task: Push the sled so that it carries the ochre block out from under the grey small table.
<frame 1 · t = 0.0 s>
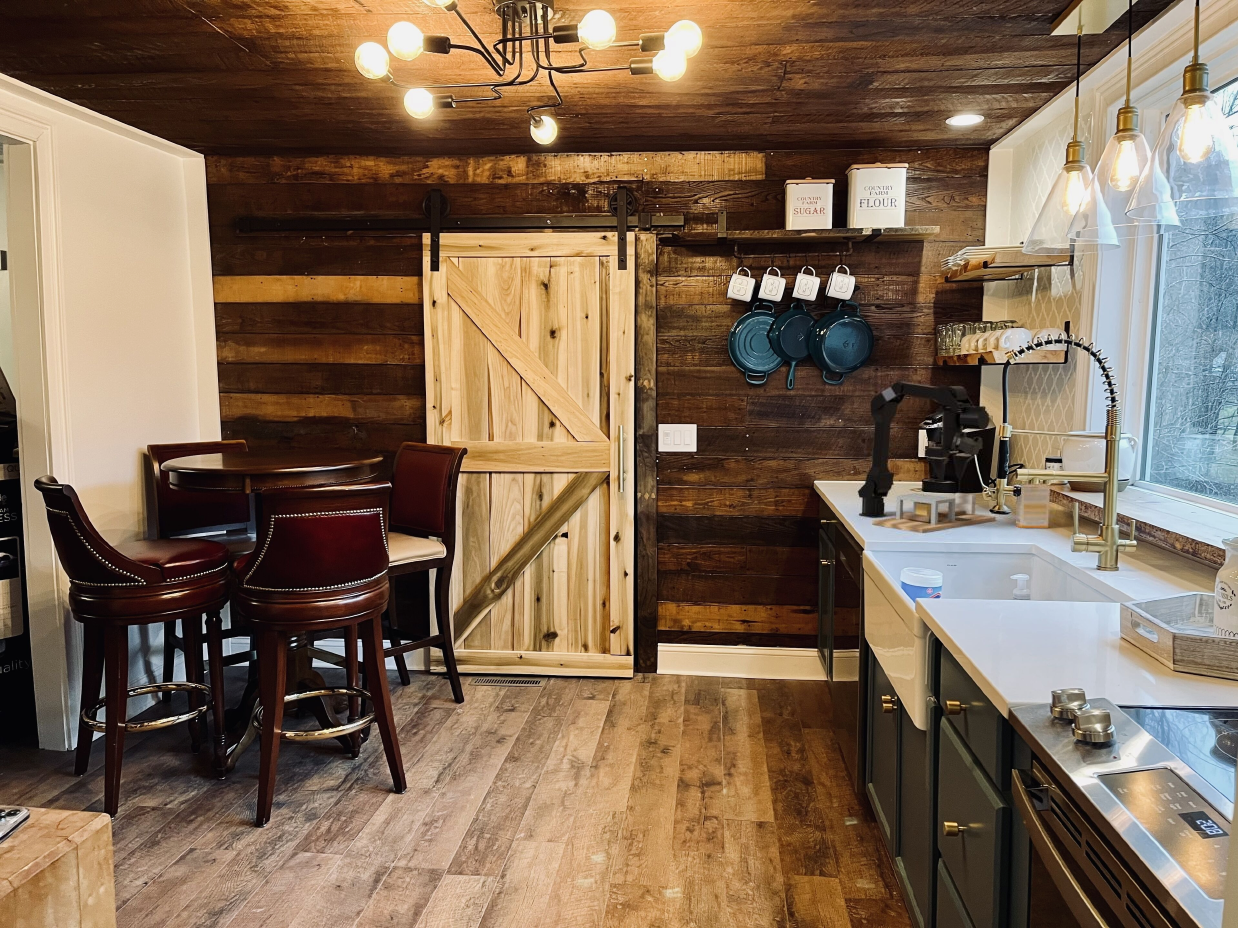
hand: (950, 479, 261), 15 cm above the table, fingers open, 9 cm apart
ochre block: (925, 516, 269), point 2 cm above the table, touching sled
supplement box: (1031, 527, 264), on the table
base board: (934, 522, 272), on the table
sled: (942, 506, 274), point 5 cm above the table, slide at 0.0 cm, touching ochre block
grey small table: (924, 524, 270), resting on base board
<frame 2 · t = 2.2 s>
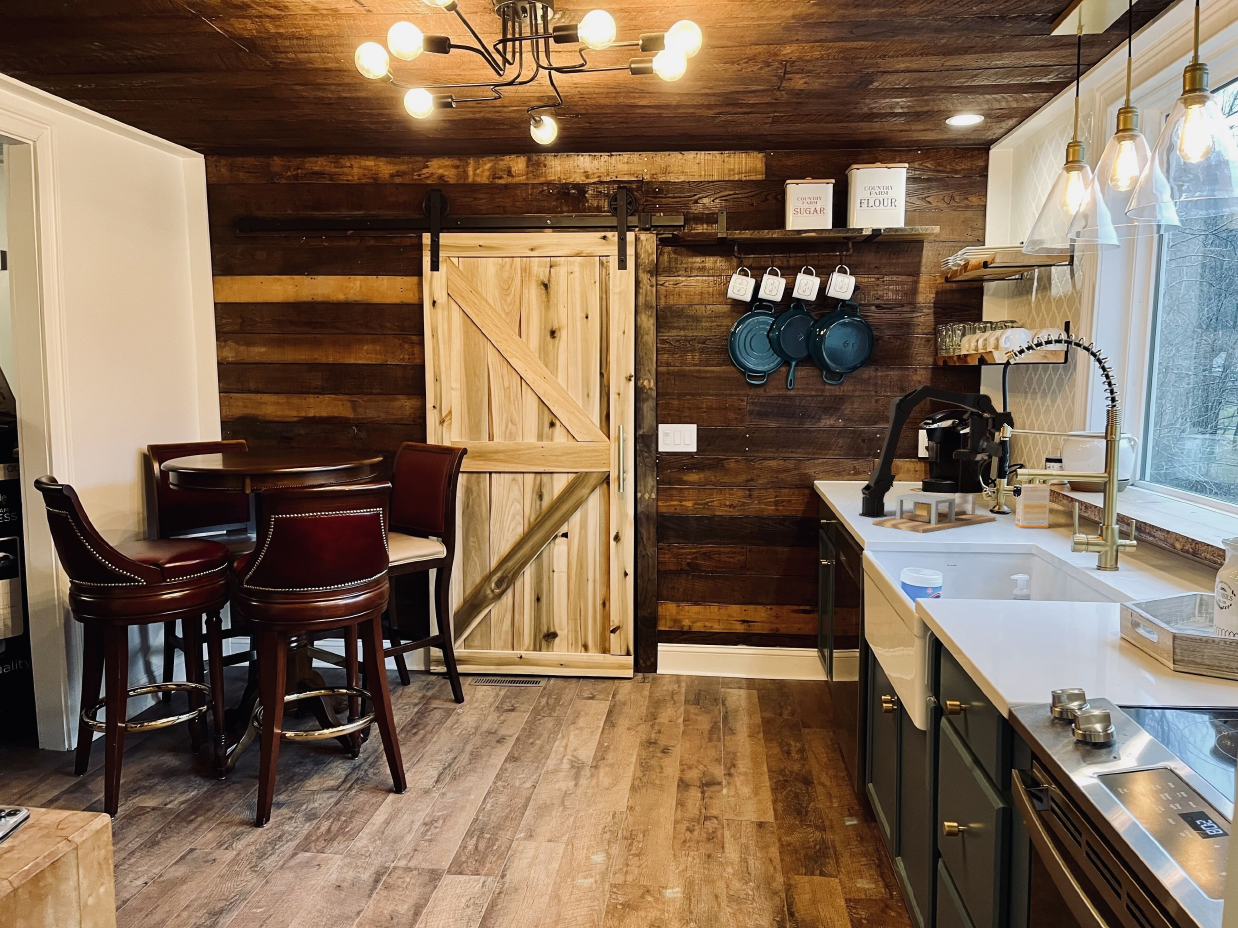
hand: (976, 480, 284), 12 cm above the table, fingers closed
nothing on the table moved.
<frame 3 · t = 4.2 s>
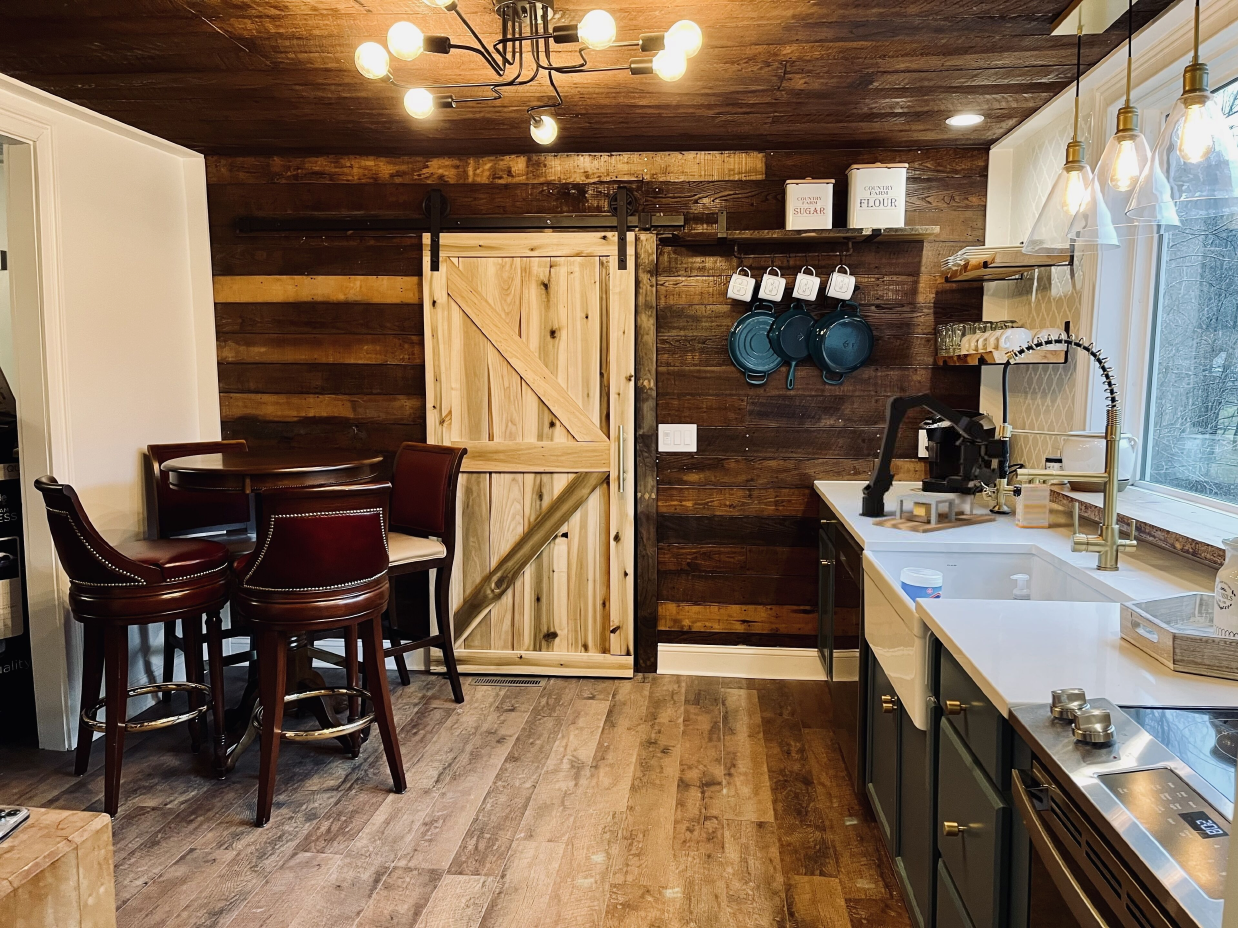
hand: (969, 506, 283), 3 cm above the table, fingers closed
ochre block: (923, 516, 269), point 2 cm above the table, touching sled
sled: (940, 507, 273), point 5 cm above the table, slide at 1.0 cm, touching gripper, ochre block
everything else where it was.
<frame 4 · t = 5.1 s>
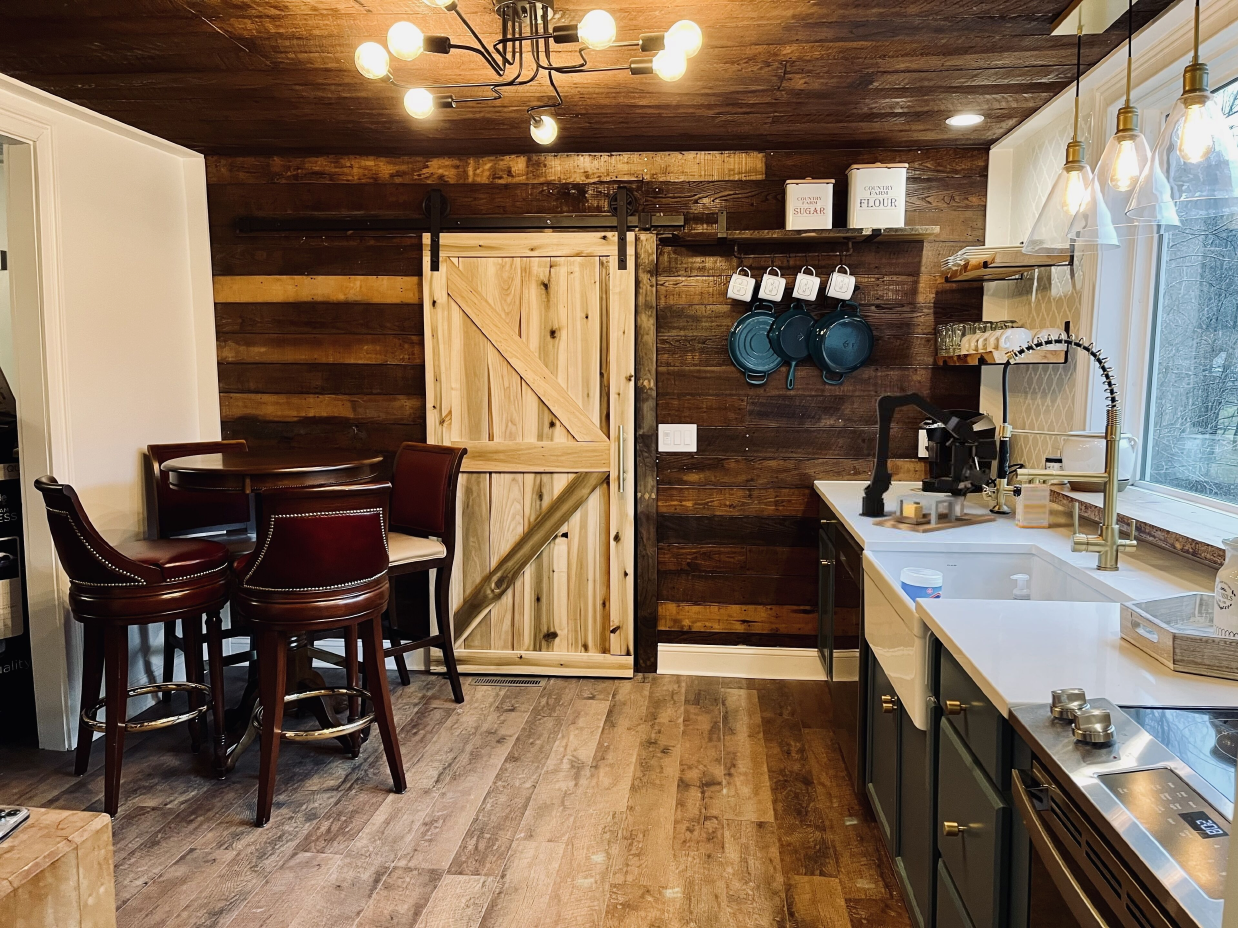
hand: (959, 508, 280), 3 cm above the table, fingers closed
ochre block: (912, 518, 266), point 2 cm above the table, touching sled
sled: (930, 508, 270), point 5 cm above the table, slide at 6.2 cm, touching gripper, ochre block
everything else where it was.
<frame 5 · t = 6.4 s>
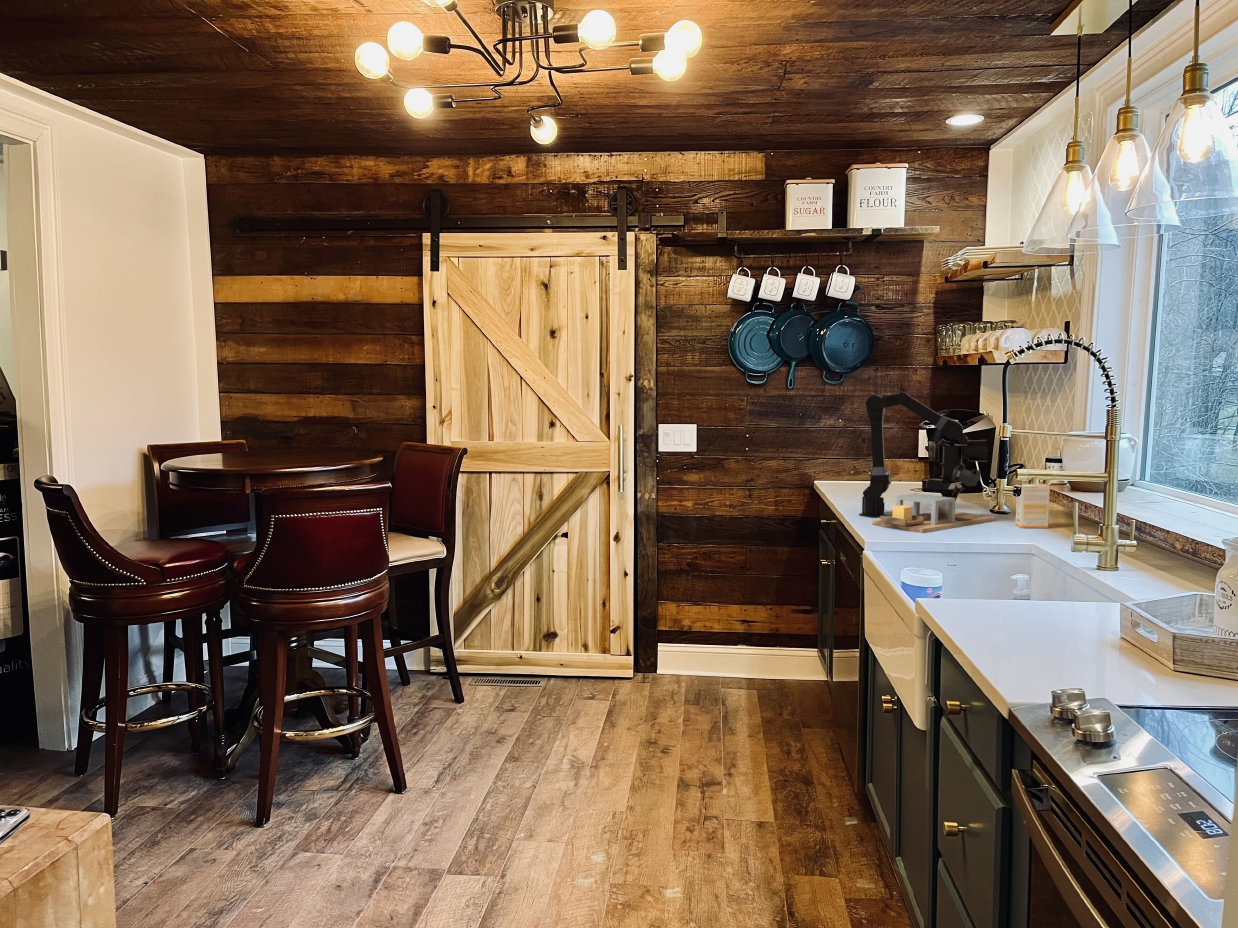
hand: (950, 509, 277), 3 cm above the table, fingers closed
ochre block: (902, 519, 263), point 2 cm above the table, touching sled
sled: (920, 509, 268), point 5 cm above the table, slide at 11.3 cm, touching gripper, ochre block
everything else where it was.
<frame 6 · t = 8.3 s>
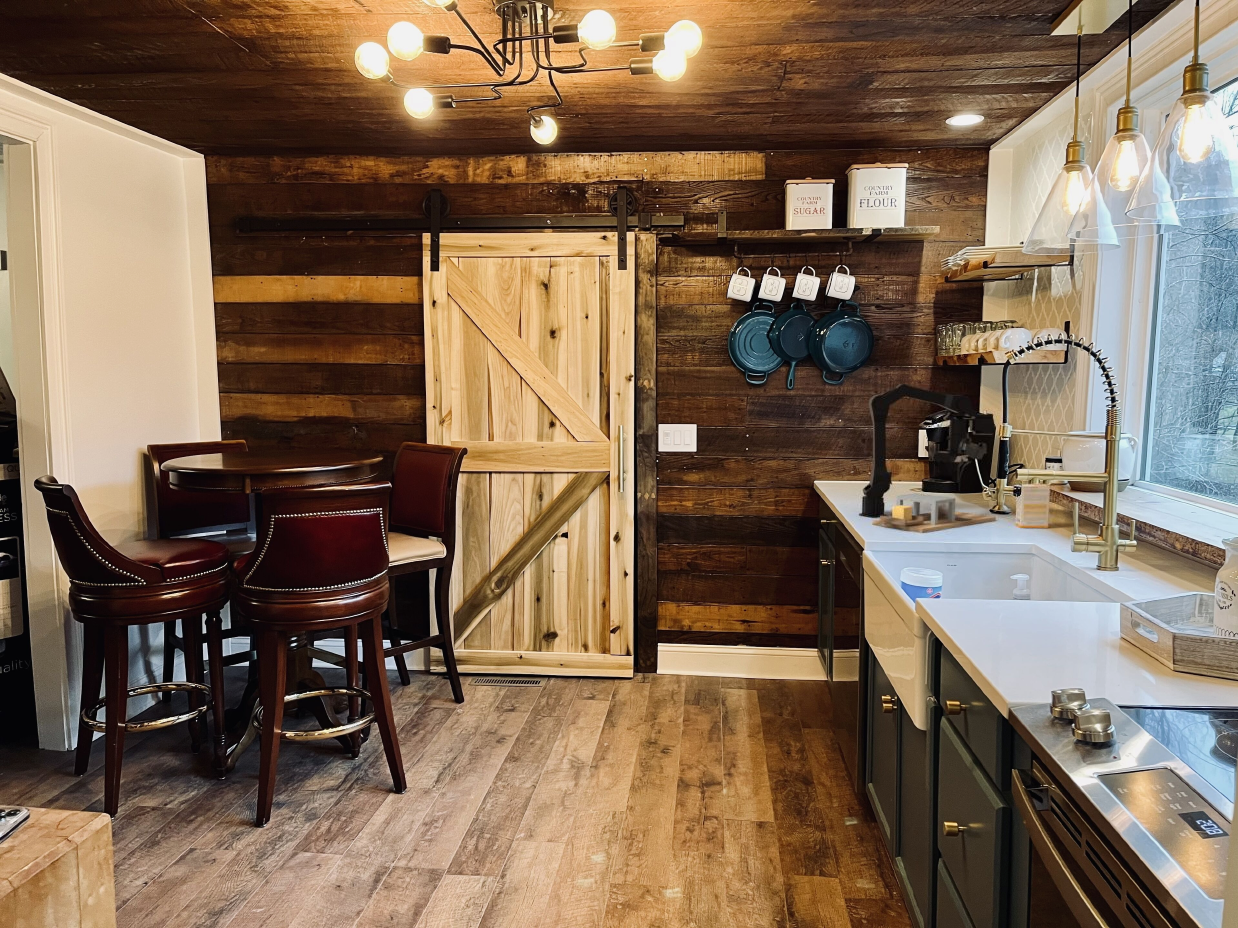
hand: (956, 482, 281), 12 cm above the table, fingers closed
sled: (920, 509, 268), point 5 cm above the table, slide at 11.4 cm, touching ochre block
everything else where it was.
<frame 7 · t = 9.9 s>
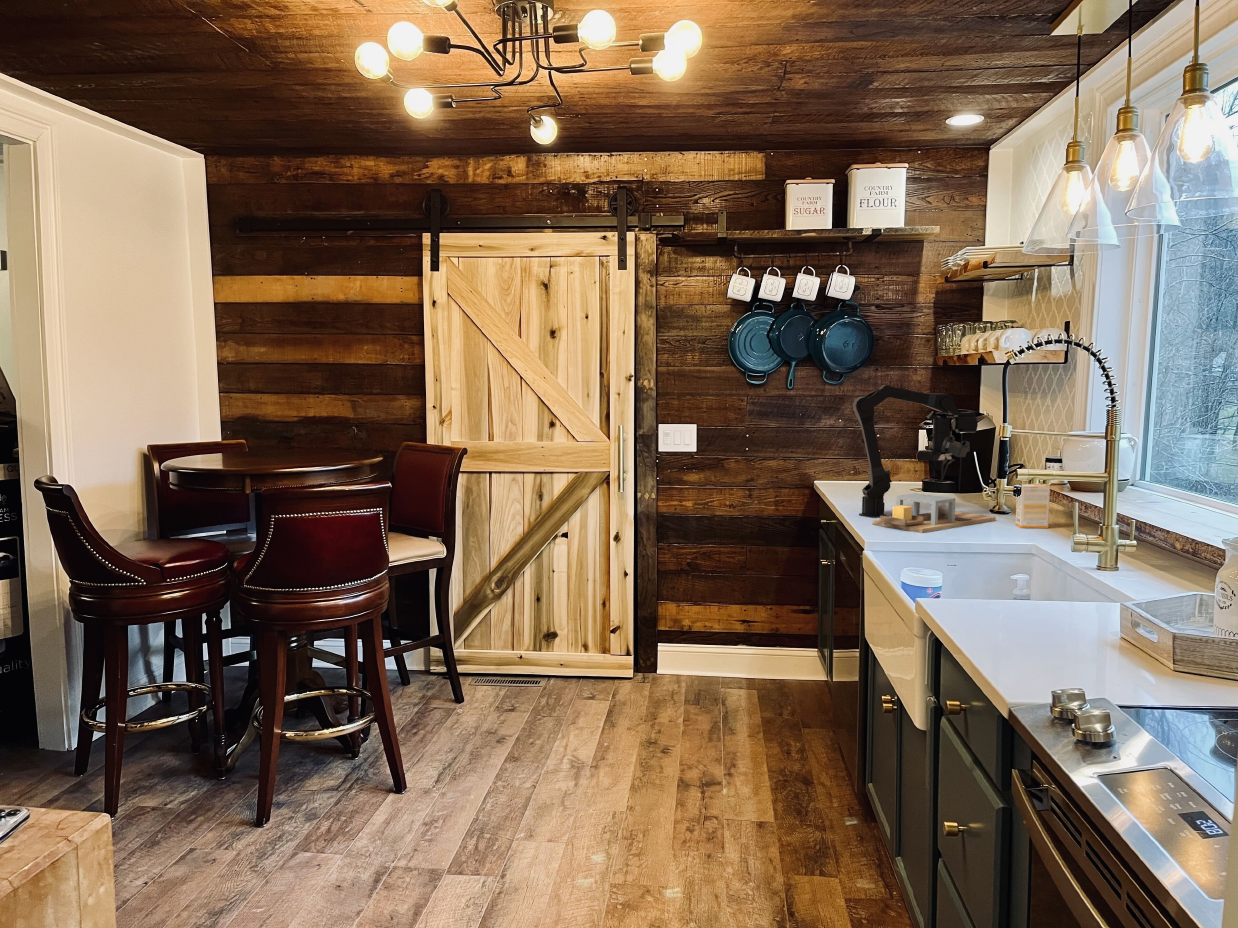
hand: (940, 480, 282), 12 cm above the table, fingers closed
nothing on the table moved.
at the end: sled slide at 11.4 cm; ochre block inside the target area (0.3 cm from its centre), point 2.5 cm above the table; ochre block tilted 0° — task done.
